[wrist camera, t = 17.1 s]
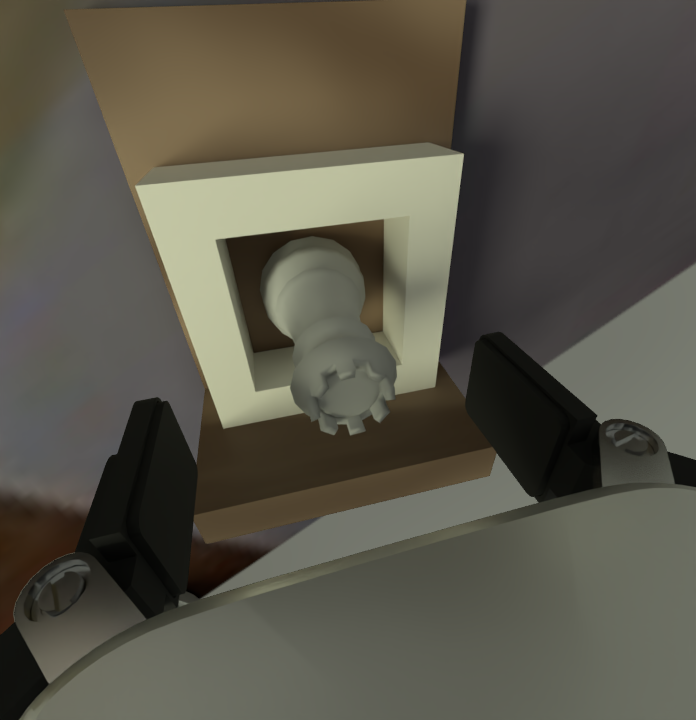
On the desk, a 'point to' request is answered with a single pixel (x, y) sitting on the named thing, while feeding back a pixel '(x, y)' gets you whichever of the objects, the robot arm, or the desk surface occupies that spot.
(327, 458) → the wooden bookend
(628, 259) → the desk surface
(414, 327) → the socket block
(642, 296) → the desk surface
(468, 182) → the desk surface
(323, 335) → the rook chess piece
